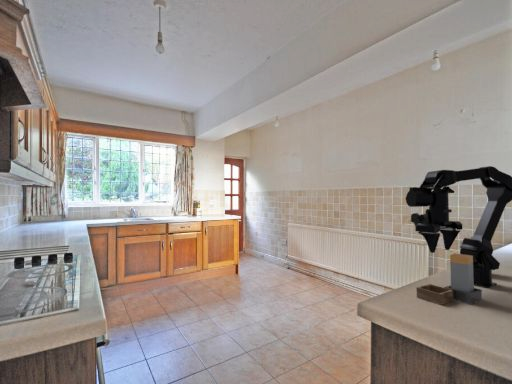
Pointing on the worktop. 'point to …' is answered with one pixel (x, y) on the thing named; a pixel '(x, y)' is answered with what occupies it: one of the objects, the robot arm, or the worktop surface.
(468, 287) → the plug
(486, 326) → the worktop surface
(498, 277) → the worktop surface
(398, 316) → the worktop surface
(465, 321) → the worktop surface
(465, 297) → the socket
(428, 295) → the square frame
